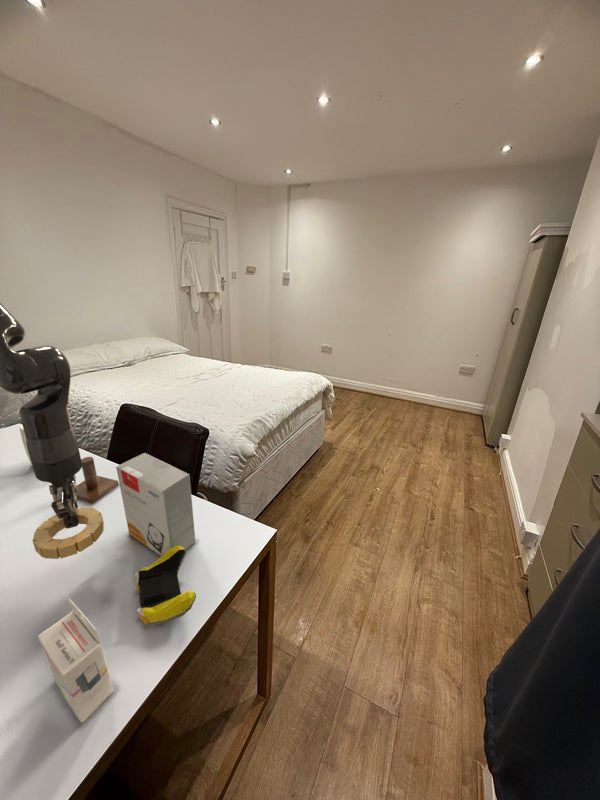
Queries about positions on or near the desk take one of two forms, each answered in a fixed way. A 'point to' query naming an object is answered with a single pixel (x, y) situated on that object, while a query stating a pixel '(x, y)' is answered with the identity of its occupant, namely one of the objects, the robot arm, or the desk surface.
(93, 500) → the stand
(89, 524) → the ring
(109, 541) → the desk surface
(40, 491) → the desk surface
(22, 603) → the desk surface
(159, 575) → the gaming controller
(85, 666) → the ink box
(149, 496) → the hard drive box
